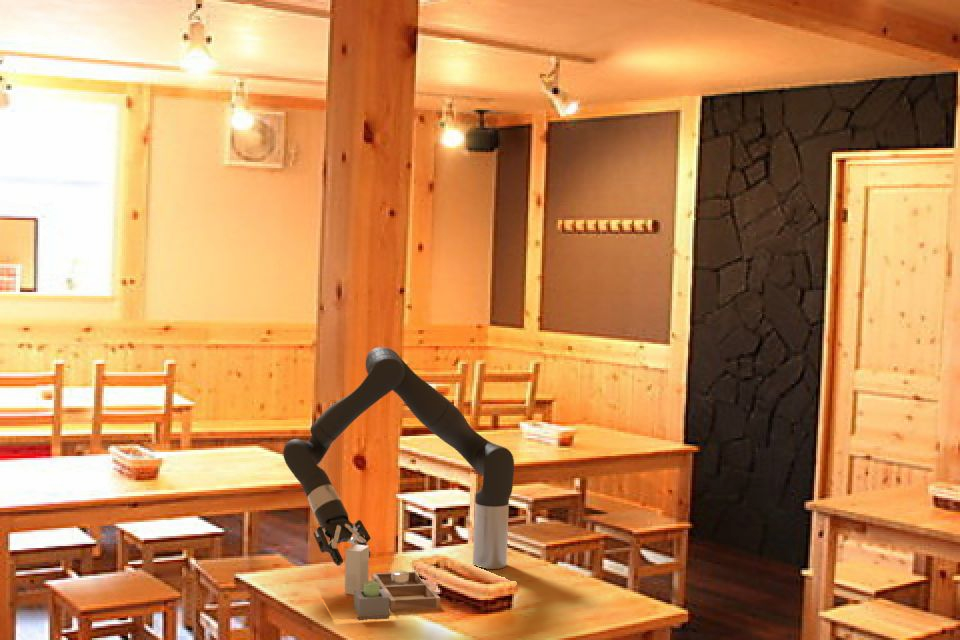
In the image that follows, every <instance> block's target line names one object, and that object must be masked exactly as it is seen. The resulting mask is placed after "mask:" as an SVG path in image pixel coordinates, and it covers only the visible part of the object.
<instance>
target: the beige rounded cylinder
mask: <svg viewBox="0 0 960 640" xmlns="http://www.w3.org/2000/svg"><path fill="white" fill-rule="evenodd" d="M408 572H409V571H406V570H395V571H392V572H390V573H391V585H409V573H408Z"/></svg>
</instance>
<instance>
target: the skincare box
mask: <svg viewBox="0 0 960 640" xmlns="http://www.w3.org/2000/svg"><path fill="white" fill-rule="evenodd" d="M366 545H367V544H366ZM366 545H358V544H351V545H350V546H349V547H348V548H347V549H345V551H344V552H345V558H344V559H345V561H344V562H345V563H344V564H345V565H344V566H345V567H344V594H345V595H346V594H347V595H353V596H354V590H364V583H365V582H369V576H370V575H369V572H370V571H369V569H370V567H369V566H370V557H369V551H370V545H367V546H366Z"/></svg>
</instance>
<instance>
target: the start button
mask: <svg viewBox="0 0 960 640" xmlns="http://www.w3.org/2000/svg"><path fill="white" fill-rule="evenodd" d="M379 588H380V583H378V582H373V581H370V580H369V581H368V582H365V583H364V597H379Z"/></svg>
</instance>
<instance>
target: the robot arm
mask: <svg viewBox="0 0 960 640" xmlns="http://www.w3.org/2000/svg"><path fill="white" fill-rule="evenodd" d="M365 371H366V373H367V376H366V377H365V379H364V380H363V381H362V382H361V383H360V385H359V386H358V387H357V388H356V389H355V390H353V391H352V392H351V393H350V394H348V395H346V396H344V397H343V398H341V399H340V400H337V401H336V402H334V403H333V404H332V405H331V406H330V407H328V408H327V409H326V410H325V411H324V412H323V413H322V414H321V415H320V416H319V417H318V418H317V419H316V420H315V421H314V422H313V423H312V425H311V426H310V434H311V436H310V438H308V440H307V441H305V440H302V439H299V438H294V439H291V440H289V441H288V442H286V443H285V445H284V448H283V453H282V454H283V460H284V462H285V464H286V466H287V467H288V469H289V471H290V472H291V473H292V475H293V476H294V477H295V478H296V480H297V481H298V483H300V485H301V487H302V489H303V491H304V493H305V496H306V497H307V499H308V503H309V506H310V508H311V510H312V513H313V514H314V516H315V519H316V521H317V522H318V525H319V526H318V527H317V528H316V530H315V531H313V536H314V538H315V542H316V543H317V545H318V547H319V550H320V552H321V553H323V554H324V553H327V554H329V555H330V557H331V559H332V561H333V563H334V564H335V565H336V566H337V567H338V566H341V565H342V564H343V563H344V558H343V557H342V555H341V552H340V551H339V548H337V544H340V543H350V544H351V545H354V544H358V545H366V546H368V545H367V544H368V542H369V541H370V540H371V536H370V534H369V533H368V531H367V529H366V527H365V525H364V524H363V522H362V520H360V519H358V520H357V521H355V522H351V521H350V519H349V513H348V511H347V509H346V508H345V505H344V504H343V501H342V500H341V497H340V496H339V493H338V492H337V491H336V489H335V487H334V486H333V484H332V482H331V480H330V478H329V476H328V474H327V472H325V469H323V468H321V467H320V466H319V464H320V463H321V462H322V460H323V459H324V457H325V456H326V454H327V452H328V451H329V449H330V448H331V445H332V444H333V442H334V441H336V440H337V438H338V437H340V436H341V434H343V432H344V431H345V430H346V429H347V428H348V427H349V426H350V425H352V424H353V422H354V421H355V420H356V419H357V418H359V417H360V416H361V415H362V414H363V413H364V412H366V411H367V410H368V409H370V408H371V407H373V405H374V404H376V403H377V402H378V401H380V400H381V399H382V398H384V397H385V396H386V395H388V394H389V393H391V392H392V391H393V392H394V393H395V394H396V395H397V396H398V397H399V398H400V399H401V400H402V402H404V404H405V405H406V407H407V408H408V409H409V411H410V412H411V413H412V414H413V415H414V416H415V417H416V419H417V420H418V421H419V422H420V423H422V425H423V426H424V427H426V428H427V429H428V430H429V431H430V432H431V433H433V435H435V436H437V437H438V438H439V439H440V440H442V441H443V442H444V443H446V444H447V445H449V446H451V448H452V449H454V450H455V451H457V452H458V453H459V454H460V456H462V457H463V459H465V461H466V462H467V463H468V464H469V465H470V466H471V468H472V469H474V471H475V472H477V473H478V474H479V475H480V476H483V478H482V487H481V489H480V490H477V491H476V493H475V496H474V498H475V499H474V525H473V526H474V527H473V529H474V530H473V547H472V548H473V550H472V554H473V555H472V565H473V564H475V565H478V566H481V567H483V568H482V569H484V568H486V570H497V569H503V568H505V567H506V566H507V558H508V533H509V532H508V530H509V508H510V505H509V503H510V497H511V495H512V493H513V487H514V486H513V485H514V475H515V460H514V456H513V454H512V451H510V450H509V449H508V448H506V447H505V446H501V445H498V444H496V443H494V442H491V441H489V440H488V439H486V438H484V437H483V436H482V435H481V434H480V433H478V432H476V430H475V429H473V427H471V426H470V424H469V423H468V420H467V419H466V418H465V416H464V415H463V413H462V412H461V410H460V409H459V408H458V407H457V406H455V405H454V404H453V403H452V402H451V401H450V400H449V399H448V398H447V397H445V396H444V395H443V394H442V393H440V392H439V391H438V390H437V389H436V388H434V387H433V386H432V385H431V384H429V383H428V382H426V381H425V380H424V379H422V378H421V377H420V376H418V375H417V374H416V373H415V372H414V371H413V370H412V369H411V368H410V367H409V366H408V365H407V363H406V362H405V360H403V359H402V358H401V357H400V355H399V354H398V353H397V352H396V351H394V350H393V349H391V348H389V347H386V346H379V347H375V348H372V349H371V350H370V351H369V352H368V353H367V356H366V359H365ZM352 536H353V537H352ZM327 538H328V539H327ZM369 558H371V551H370V550H369Z"/></svg>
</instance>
